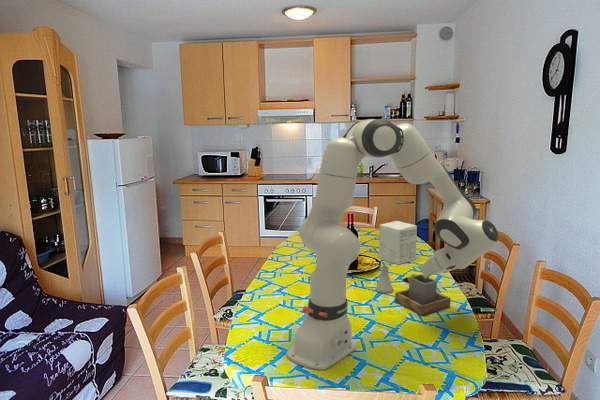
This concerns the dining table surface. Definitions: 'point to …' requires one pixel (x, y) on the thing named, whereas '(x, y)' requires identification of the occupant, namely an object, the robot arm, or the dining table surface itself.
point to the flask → (384, 281)
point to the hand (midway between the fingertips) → (434, 273)
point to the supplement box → (397, 242)
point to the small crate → (422, 289)
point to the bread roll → (407, 279)
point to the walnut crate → (422, 310)
